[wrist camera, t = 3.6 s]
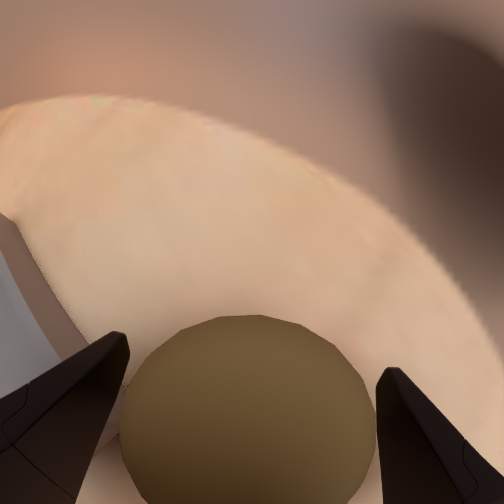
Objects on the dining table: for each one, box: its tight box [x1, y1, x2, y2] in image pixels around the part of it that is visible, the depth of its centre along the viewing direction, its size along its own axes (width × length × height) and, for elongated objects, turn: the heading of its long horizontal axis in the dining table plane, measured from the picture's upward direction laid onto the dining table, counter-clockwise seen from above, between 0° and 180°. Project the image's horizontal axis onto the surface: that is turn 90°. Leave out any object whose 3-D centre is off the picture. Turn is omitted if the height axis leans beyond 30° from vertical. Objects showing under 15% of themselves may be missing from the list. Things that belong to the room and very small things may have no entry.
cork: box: [118, 315, 376, 504], centre depth 9 cm, size 6×6×11 cm
